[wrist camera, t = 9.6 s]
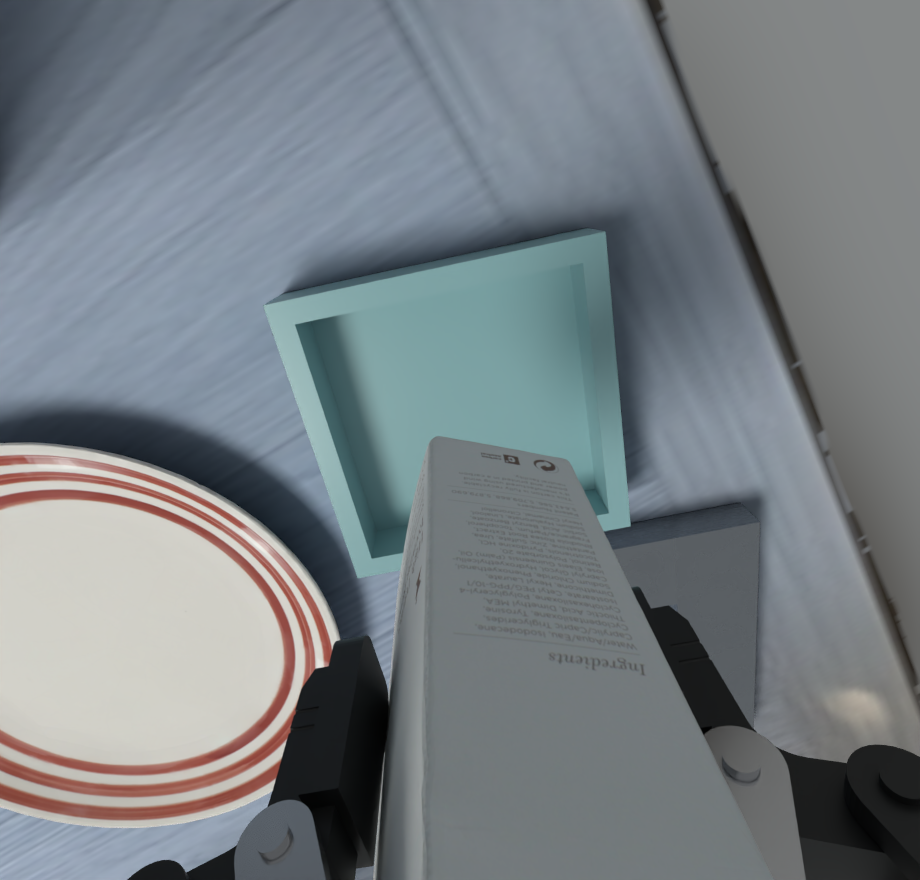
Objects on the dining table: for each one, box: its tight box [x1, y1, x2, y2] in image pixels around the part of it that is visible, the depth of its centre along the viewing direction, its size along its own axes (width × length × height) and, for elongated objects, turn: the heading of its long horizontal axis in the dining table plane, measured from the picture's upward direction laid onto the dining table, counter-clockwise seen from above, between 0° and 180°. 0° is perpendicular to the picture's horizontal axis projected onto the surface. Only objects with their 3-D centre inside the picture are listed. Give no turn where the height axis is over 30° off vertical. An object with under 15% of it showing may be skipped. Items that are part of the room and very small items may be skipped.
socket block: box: [604, 503, 760, 729], centre depth 33 cm, size 18×18×4 cm
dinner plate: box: [0, 442, 341, 828], centre depth 31 cm, size 27×27×3 cm
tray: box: [263, 228, 631, 578], centre depth 26 cm, size 14×14×3 cm
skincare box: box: [373, 436, 774, 880], centre depth 11 cm, size 6×4×12 cm
